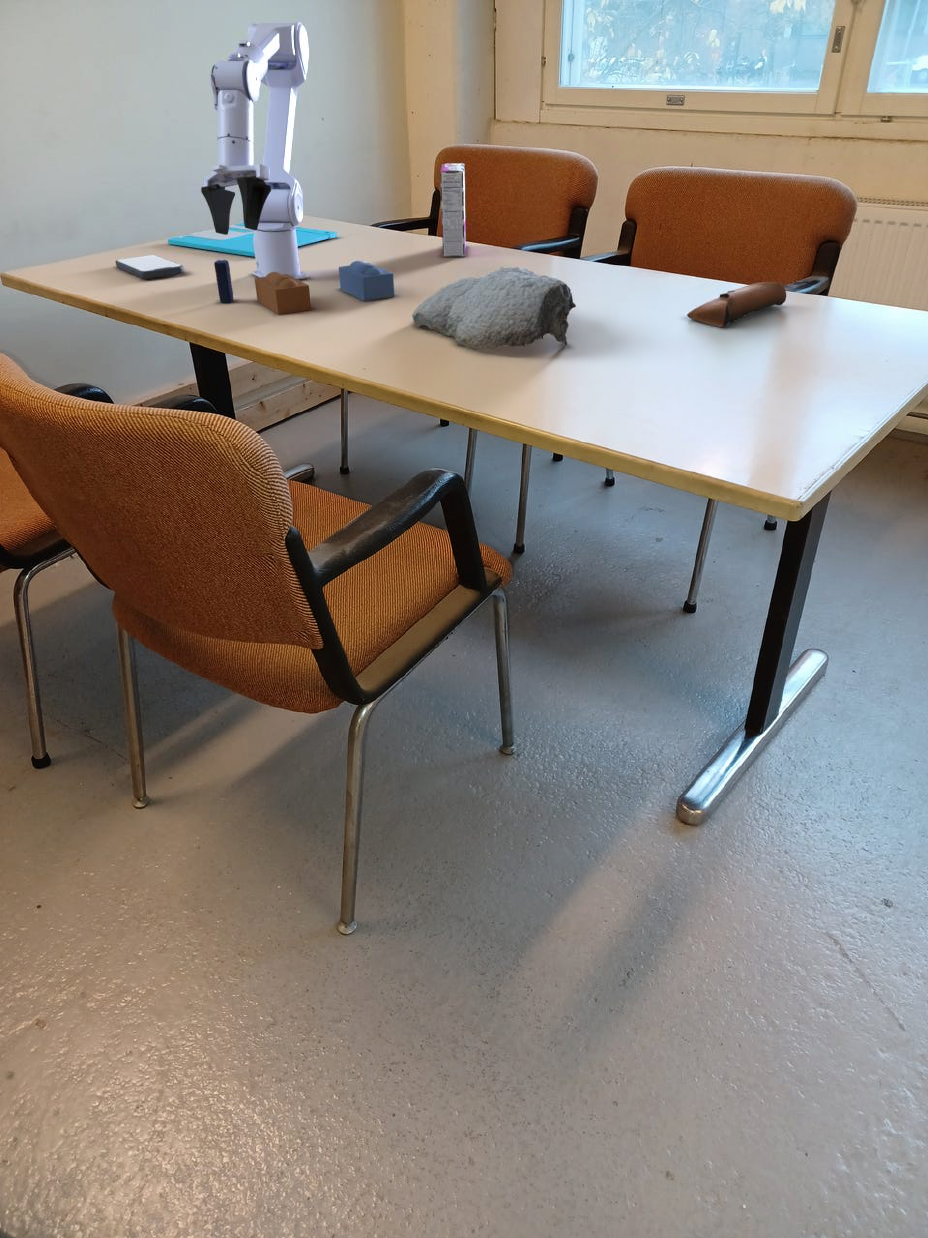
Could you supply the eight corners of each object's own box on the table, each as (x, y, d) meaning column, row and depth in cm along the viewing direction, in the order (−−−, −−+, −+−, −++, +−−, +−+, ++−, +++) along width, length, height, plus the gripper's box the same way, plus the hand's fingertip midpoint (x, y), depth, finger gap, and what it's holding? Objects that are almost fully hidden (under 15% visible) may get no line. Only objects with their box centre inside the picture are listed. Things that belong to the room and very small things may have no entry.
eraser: (223, 299, 157) (216, 259, 153) (235, 300, 156) (229, 259, 152) (218, 303, 155) (212, 262, 151) (231, 303, 155) (224, 262, 151)
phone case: (114, 268, 179) (143, 280, 169) (112, 259, 178) (141, 271, 168) (156, 262, 184) (187, 274, 173) (155, 254, 183) (185, 265, 172)
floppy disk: (258, 257, 185) (257, 252, 184) (167, 243, 197) (166, 239, 197) (338, 236, 203) (338, 232, 202) (250, 225, 216) (249, 220, 215)
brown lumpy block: (257, 301, 155) (253, 271, 153) (289, 297, 158) (286, 267, 155) (278, 314, 148) (274, 283, 145) (311, 309, 151) (308, 278, 148)
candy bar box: (443, 246, 194) (441, 162, 185) (465, 246, 194) (465, 162, 185) (441, 257, 184) (439, 170, 175) (465, 257, 184) (464, 169, 175)
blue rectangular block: (340, 289, 162) (338, 260, 159) (369, 285, 165) (367, 256, 162) (364, 301, 155) (362, 271, 152) (394, 296, 158) (393, 267, 155)
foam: (398, 322, 144) (394, 263, 139) (501, 300, 154) (501, 244, 149) (504, 365, 125) (505, 298, 119) (614, 337, 135) (619, 274, 130)
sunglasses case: (740, 295, 154) (764, 263, 149) (768, 322, 153) (793, 292, 147) (683, 315, 144) (706, 282, 139) (712, 345, 142) (736, 313, 137)
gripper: (187, 142, 146) (189, 230, 148) (244, 127, 137) (245, 221, 140) (222, 154, 151) (223, 238, 154) (279, 140, 143) (279, 230, 145)
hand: (236, 231), depth 147 cm, fingers open, 7 cm apart
